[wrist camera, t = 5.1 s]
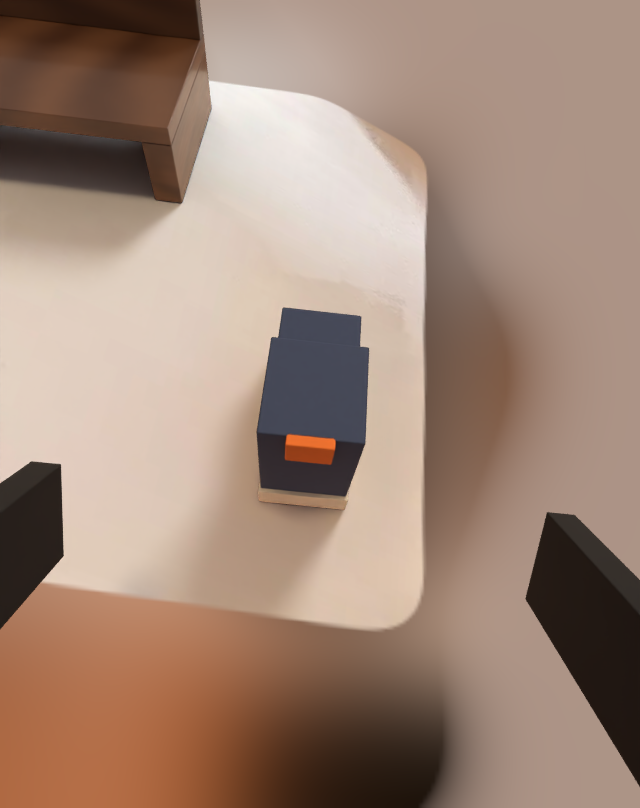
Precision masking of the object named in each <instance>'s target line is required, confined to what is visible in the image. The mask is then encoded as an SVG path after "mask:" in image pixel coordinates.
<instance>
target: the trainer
mask: <svg viewBox="0 0 640 808" xmlns="http://www.w3.org/2000/svg"><path fill="white" fill-rule="evenodd" d="M360 333H361V316H356V315H347V314H338V313H329V312H320V311H311V310H302V309H293V308H283V309H282V316H281V323H280V329H279V336H278V338H276V337H272V338H271V343H270V349H269V356H268V362H267V369H266V375H265V382H264V388H263V394H262V401H261V407H260V414H259V420H258V426H257V444H258V458H259V471H260V482H259V489H258V496H259V501H262V502H272V503H282V504H292V505H302V506H312V507H322V508H331V509H341V510H344V509H345V507H346V504H347V501H348V490H349V487H350V484H351V481H352V479H353V476H354V473H355V470H356V468H357V465H358V462H359V459H360V457H361V454H362V451H363V448H364V446H365V439H366V414H367V388H368V363H369V348H367V347H360Z"/></svg>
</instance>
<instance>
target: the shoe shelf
mask: <svg viewBox="0 0 640 808" xmlns="http://www.w3.org/2000/svg"><path fill="white" fill-rule="evenodd" d="M210 111H211V99H210V90H209V80H208V72H207V62H206V53H205V43H204V34H203V25H202V16H201V7H200V0H0V125H4V126H12V127H21V128H29V129H38V130H46V131H54V132H63V133H71V134H80V135H88V136H96V137H105V138H113V139H121V140H130V141H138V142H142V147H143V151H144V155H145V159H146V163H147V167H148V171H149V175H150V179H151V184H152V188H153V192H154V196H155V199H156V200H162V201H171V202H180V203H182V201H183V197H184V194H185V191H186V188H187V185H188V181H189V178H190V175H191V172H192V169H193V165H194V162H195V159H196V156H197V153H198V149H199V146H200V143H201V140H202V137H203V133H204V130H205V127H206V124H207V121H208V117H209V114H210Z"/></svg>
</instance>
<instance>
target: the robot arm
mask: <svg viewBox="0 0 640 808" xmlns="http://www.w3.org/2000/svg"><path fill="white" fill-rule="evenodd" d="M63 556H64V554H63V520H62V486H61V464H52V463H42V462H30V463H29V464H27V465H26V466H24V467H23V468H22V469H20V470H19V471H17V472H16V473H14V474H13V475H12V476H10V477H9V478H7V479H6V480H4V481H3V482H2V483H0V629H1V628H2V627H3V625H4V624H5V623H6V622H7V621H8V619H9V618H10V617H11V616H12V615H13V614H14V613H15V611H16V610H17V609H18V608H19V607H20V606H21V605H22V603H23V602H24V601H25V600H26V599H27V598H28V596H29V595H30V594H31V593H32V592H33V591H34V590H35V588H36V587H37V586H38V585H39V584H40V583H41V581H42V580H43V579H44V578H45V577H46V576H47V574H48V573H49V572H50V571H51V570H52V569H53V568H54V566H55V565H56V564H57V563H58V562H59V561H60V559H61V558H62V557H63ZM526 601H527V602H528V604H529V605H530V607H531V609H532V610H533V612H534V614H535V615H536V617H537V619H538V620H539V622H540V623H541V625H542V627H543V629H544V630H545V632H546V633H547V635H548V637H549V638H550V640H551V642H552V643H553V645H554V647H555V648H556V650H557V651H558V653H559V655H560V656H561V658H562V660H563V661H564V663H565V664H566V666H567V668H568V670H569V671H570V673H571V675H572V676H573V678H574V679H575V681H576V683H577V684H578V686H579V687H580V689H581V691H582V693H583V694H584V696H585V697H586V699H587V700H588V702H589V704H590V706H591V707H592V709H593V710H594V712H595V714H596V715H597V717H598V719H599V720H600V722H601V724H602V725H603V727H604V729H605V730H606V732H607V733H608V735H609V737H610V739H611V740H612V742H613V743H614V745H615V747H616V748H617V750H618V752H619V753H620V755H621V757H622V758H623V760H624V762H625V763H626V765H627V766H628V768H629V770H630V771H631V773H632V775H633V776H634V778H635V780H636V781H637V783H638V784H639V786H640V580H639V579H638V578H637V577H636V576H635V575H634V574H633V573H632V572H631V571H630V570H629V569H628V568H627V567H626V566H625V565H624V564H623V563H622V562H621V561H620V560H619V559H618V558H617V557H616V556H615V555H614V554H613V553H612V552H611V551H610V550H609V549H608V548H607V547H606V546H605V545H604V544H603V543H602V542H601V541H600V540H599V539H598V538H597V537H596V536H595V535H594V534H593V533H592V532H591V531H590V530H589V529H588V528H587V527H586V526H585V525H584V524H583V523H582V522H581V521H580V520H579V519H578V518H577V517H576V516H575V515H569V514H559V513H549V512H548V513H547V515H546V519H545V523H544V527H543V531H542V535H541V539H540V543H539V547H538V551H537V555H536V559H535V563H534V567H533V571H532V575H531V579H530V583H529V587H528V591H527V595H526Z"/></svg>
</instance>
